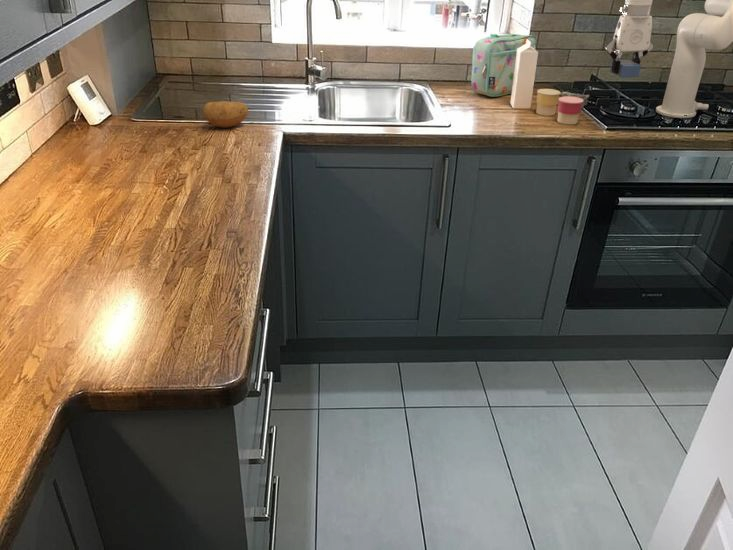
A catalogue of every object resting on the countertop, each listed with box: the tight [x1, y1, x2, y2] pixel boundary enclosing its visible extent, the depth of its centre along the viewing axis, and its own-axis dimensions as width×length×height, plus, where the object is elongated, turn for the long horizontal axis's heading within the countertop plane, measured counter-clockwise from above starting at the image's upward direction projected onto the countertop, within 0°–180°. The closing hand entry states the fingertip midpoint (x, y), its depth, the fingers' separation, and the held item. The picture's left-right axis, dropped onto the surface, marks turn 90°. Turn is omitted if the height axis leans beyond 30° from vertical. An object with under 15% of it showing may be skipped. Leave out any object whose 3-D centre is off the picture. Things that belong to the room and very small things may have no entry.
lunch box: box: [470, 33, 537, 98], centre depth 225 cm, size 27×10×21 cm, turn 127°
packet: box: [609, 59, 642, 79], centre depth 191 cm, size 6×8×4 cm
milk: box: [509, 39, 539, 109], centre depth 210 cm, size 6×6×22 cm
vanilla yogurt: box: [535, 88, 561, 117], centre depth 207 cm, size 8×8×7 cm
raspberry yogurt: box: [556, 96, 583, 125], centre depth 198 cm, size 8×8×7 cm
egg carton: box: [556, 91, 590, 109], centre depth 216 cm, size 11×8×4 cm
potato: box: [202, 100, 249, 129], centre depth 192 cm, size 10×14×8 cm
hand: (624, 72), depth 192 cm, fingers closed on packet, 5 cm apart
